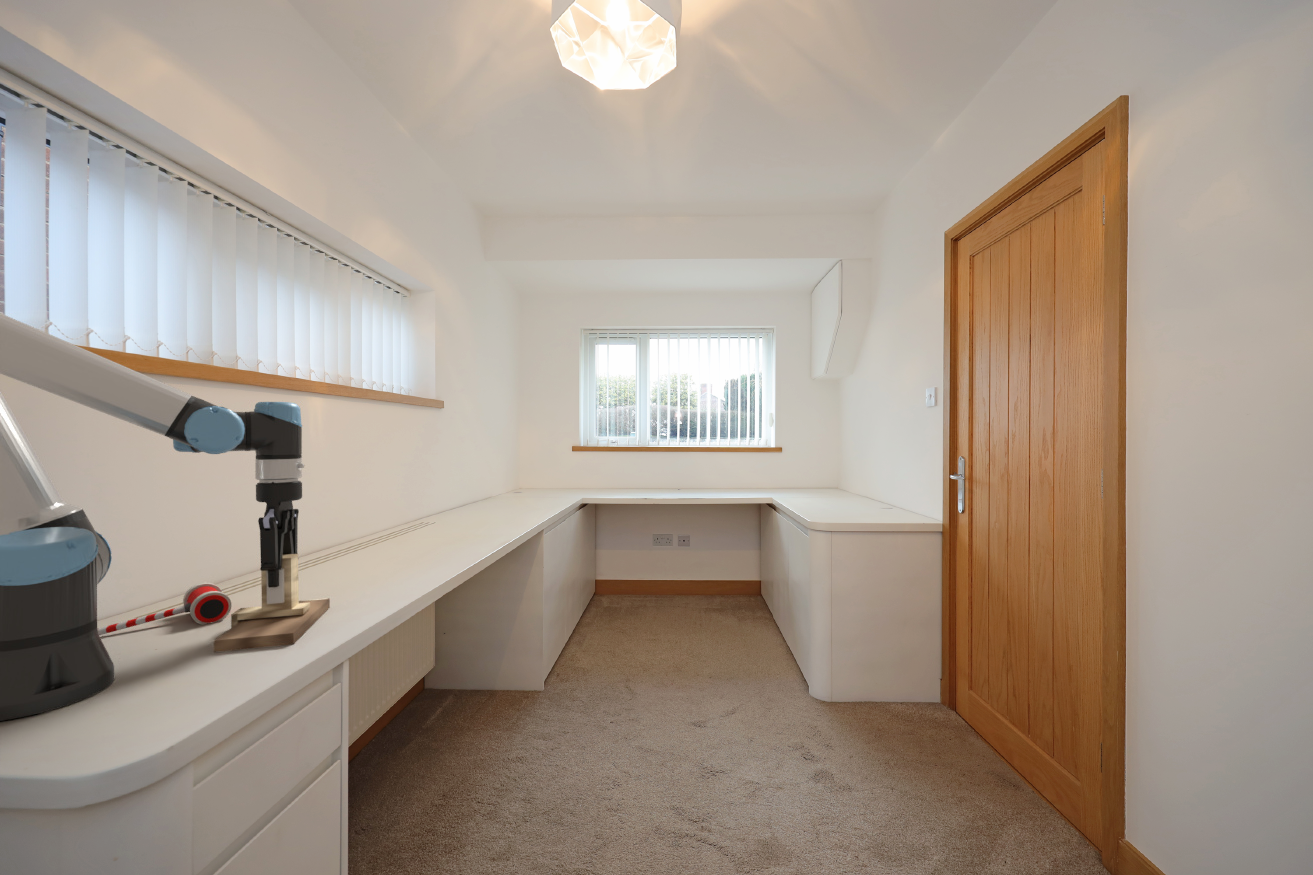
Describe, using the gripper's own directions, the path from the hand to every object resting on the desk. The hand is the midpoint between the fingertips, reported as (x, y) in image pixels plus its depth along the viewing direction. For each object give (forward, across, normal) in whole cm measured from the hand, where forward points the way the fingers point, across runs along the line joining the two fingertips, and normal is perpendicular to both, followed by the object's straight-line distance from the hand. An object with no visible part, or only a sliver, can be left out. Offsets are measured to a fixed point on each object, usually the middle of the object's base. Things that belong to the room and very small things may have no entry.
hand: (280, 599), depth 108 cm
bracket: (+5, 0, +2) cm, 5 cm away
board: (+5, -1, 0) cm, 5 cm away
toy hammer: (+6, +7, +22) cm, 24 cm away
